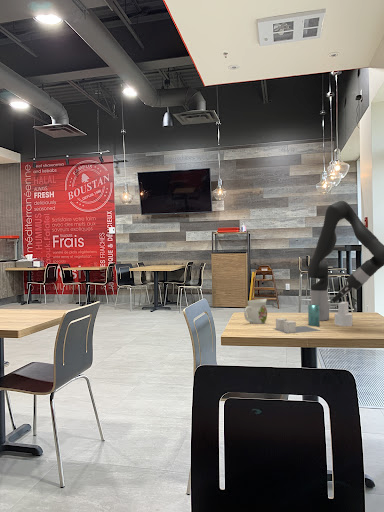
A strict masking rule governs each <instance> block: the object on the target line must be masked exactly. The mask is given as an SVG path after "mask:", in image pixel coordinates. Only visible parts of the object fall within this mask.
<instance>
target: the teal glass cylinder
mask: <svg viewBox="0 0 384 512" xmlns="http://www.w3.org/2000/svg"><path fill="white" fill-rule="evenodd" d="M307 316H308V318H307V319H308V321H307V322H308V327H310V326H311V327H317V328H320V327H321V325H320V321H319V305H315V304H311V303H310V304H308V306H307Z"/></svg>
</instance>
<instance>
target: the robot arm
mask: <svg viewBox="0 0 384 512" xmlns="http://www.w3.org/2000/svg"><path fill="white" fill-rule="evenodd" d="M341 220H345V221H347V222H348V223H349V224H350V225H351V227H352V230H353V234H354V235H355V238H356V239H357V240H358V241H359V243H361V245H363V247H364V248H365V249H367V250H368V251H369V252H370V254H371V255H372V257H371V258H370V259H367V260H366V261H364V262H363V263H362V264H361V265H360V266H359V267H358V268H356V269H355V270H354V271H353V272H352V273H350V274H349V275H348V276H347V277H346V279H345V281H346V282H347V284H344V285H343V286H342V287H341V288H340V290H339V291H338V292H337V293H336V295H335V296H333V298H332V299H331V301H332V302H333V303H336V302H338V301H339V300H340V299H341V298H343V296H346V295H348V294H349V293H350V292H351V291H352V289H354V290H359V289H360V288H361V287H362V286H363V285H364V284H366V282H368V281H369V279H371V277H372V276H374V274H375V273H377V272H378V270H379V269H381V268H382V267H384V244H383V243H382V242H381V241H380V240H379V239H378V238H377V236H376V235H375V234H374V233H372V232H371V230H370V229H368V227H367V226H366V225H365V224H364V222H362V220H361V219H360V217H359V215H357V214H356V212H355V210H354V209H353V208H352V207H351V205H350V204H349V203H348V202H347V201H345V200H339V201H336V202H334V203H332V204H330V205H328V207H327V209H326V211H325V215H324V221H323V224H322V228H321V232H320V235H319V236H318V241H317V243H316V247H315V250H314V252H313V256H312V258H311V260H310V262H309V264H308V266H307V276H308V278H310V279H319V280H318V281H317V282H315V283H313V284H311V285H310V305H311V304H315V305H319V322H320V321H323V322H324V321H328V320H330V303H329V301H328V287H329V265H328V264H327V262H322V261H323V260H324V259H325V258H327V257H328V256H329V255H330V254H331V253H332V252H333V251H334V249H335V247H336V244H337V240H338V239H337V234H336V227H337V226H338V223H339V222H340V221H341Z"/></svg>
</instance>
